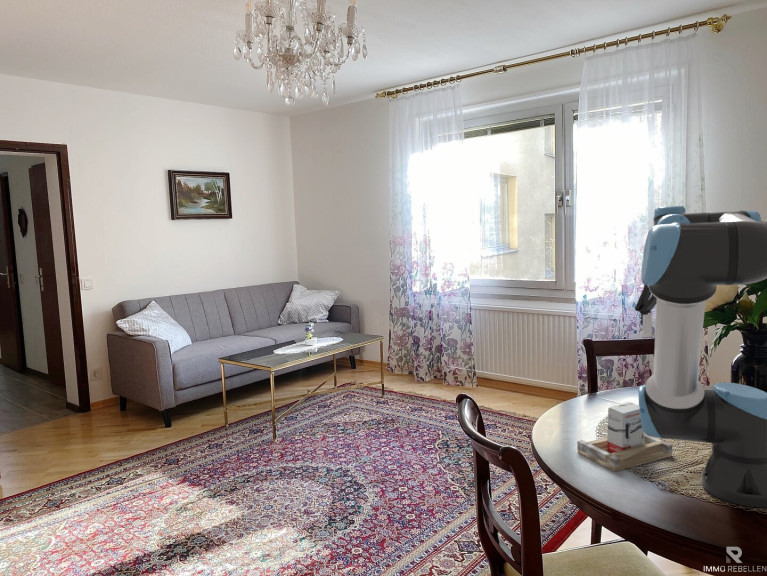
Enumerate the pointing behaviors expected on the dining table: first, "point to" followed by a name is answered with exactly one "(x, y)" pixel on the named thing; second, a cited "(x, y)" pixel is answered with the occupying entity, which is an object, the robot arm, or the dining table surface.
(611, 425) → the ink box
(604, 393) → the dining table surface
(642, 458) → the wooden tray
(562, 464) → the dining table surface
